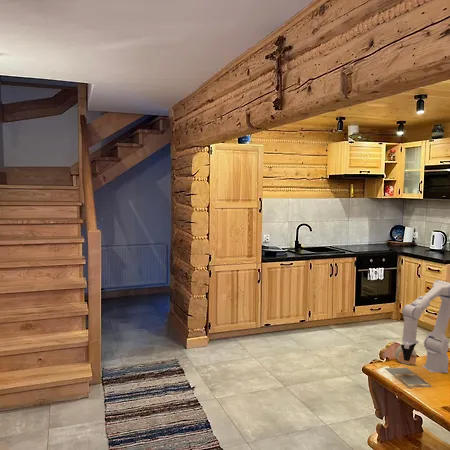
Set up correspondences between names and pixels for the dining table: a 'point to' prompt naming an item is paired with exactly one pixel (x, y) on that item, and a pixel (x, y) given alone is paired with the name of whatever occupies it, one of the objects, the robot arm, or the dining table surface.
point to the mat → (408, 379)
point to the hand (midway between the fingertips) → (407, 358)
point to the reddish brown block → (411, 361)
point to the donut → (402, 352)
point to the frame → (414, 384)
